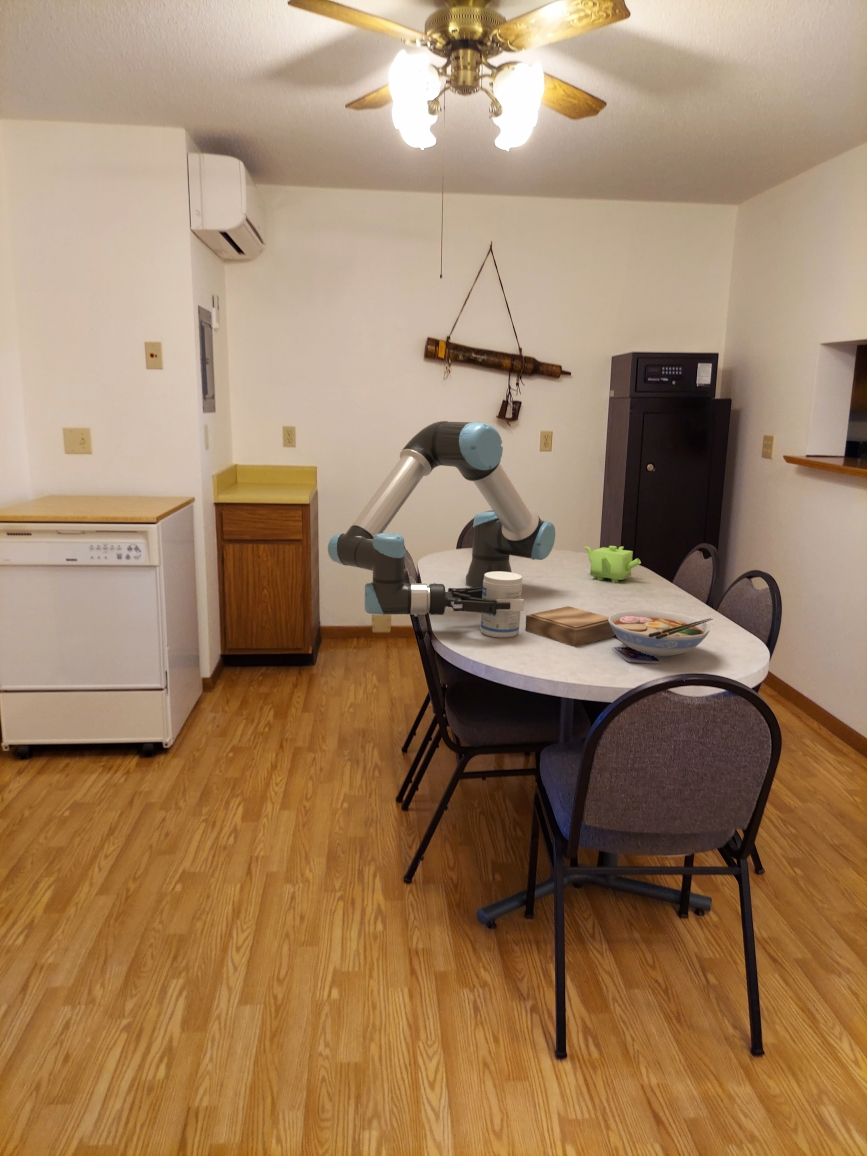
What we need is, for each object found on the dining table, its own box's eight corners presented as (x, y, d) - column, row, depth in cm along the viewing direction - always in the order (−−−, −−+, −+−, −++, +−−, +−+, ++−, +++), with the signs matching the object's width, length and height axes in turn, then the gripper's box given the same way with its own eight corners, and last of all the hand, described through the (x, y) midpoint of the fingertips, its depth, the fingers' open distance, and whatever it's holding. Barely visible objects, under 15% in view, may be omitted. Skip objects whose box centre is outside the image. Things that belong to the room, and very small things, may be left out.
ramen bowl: (644, 632, 196) (647, 601, 194) (728, 655, 179) (733, 621, 177) (582, 650, 179) (584, 616, 178) (668, 677, 163) (672, 640, 161)
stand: (525, 630, 194) (526, 613, 193) (567, 620, 204) (568, 604, 203) (574, 646, 182) (576, 628, 181) (616, 635, 192) (618, 618, 191)
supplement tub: (472, 632, 191) (474, 573, 188) (498, 625, 198) (500, 569, 194) (501, 641, 184) (504, 581, 181) (527, 634, 191) (530, 576, 188)
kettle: (580, 575, 261) (583, 542, 259) (619, 574, 264) (621, 542, 262) (599, 585, 247) (602, 550, 244) (640, 584, 250) (643, 550, 248)
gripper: (424, 602, 199) (510, 603, 201) (431, 626, 178) (527, 627, 180) (425, 574, 197) (511, 575, 199) (432, 595, 176) (529, 595, 178)
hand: (519, 599), depth 189 cm, fingers closed on supplement tub, 9 cm apart
